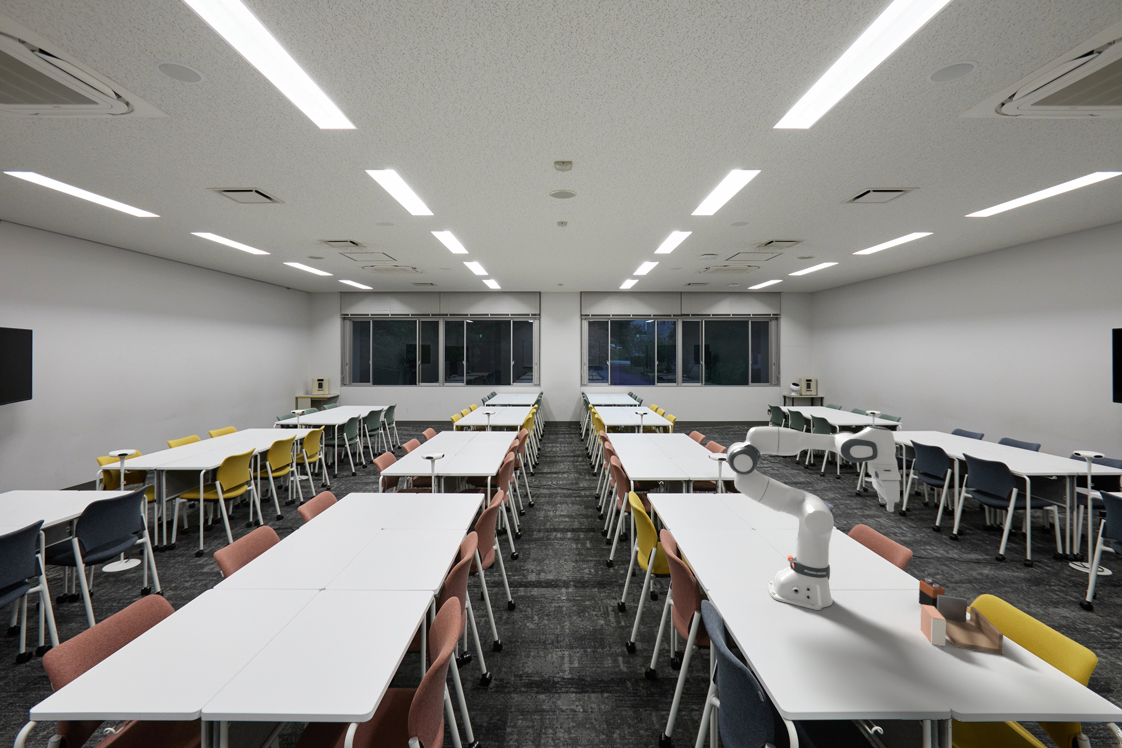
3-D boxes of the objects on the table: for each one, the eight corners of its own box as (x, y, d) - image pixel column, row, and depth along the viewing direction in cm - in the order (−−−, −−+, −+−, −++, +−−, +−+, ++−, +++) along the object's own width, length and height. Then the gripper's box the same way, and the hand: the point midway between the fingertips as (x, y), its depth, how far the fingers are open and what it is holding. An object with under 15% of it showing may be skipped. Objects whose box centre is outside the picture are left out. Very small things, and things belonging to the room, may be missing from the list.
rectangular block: (931, 644, 144) (932, 617, 143) (920, 629, 151) (921, 604, 151) (945, 646, 143) (946, 619, 142) (933, 631, 150) (933, 606, 150)
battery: (929, 602, 168) (930, 577, 167) (944, 613, 161) (945, 586, 160) (918, 602, 168) (918, 577, 167) (932, 613, 161) (933, 586, 161)
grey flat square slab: (938, 618, 155) (938, 596, 155) (936, 616, 156) (937, 594, 156) (966, 622, 153) (966, 600, 153) (964, 620, 154) (965, 598, 153)
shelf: (955, 646, 143) (956, 627, 142) (931, 618, 158) (932, 600, 157) (1002, 654, 139) (1003, 634, 138) (973, 625, 154) (974, 606, 154)
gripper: (865, 463, 173) (869, 498, 173) (880, 476, 154) (884, 515, 154) (884, 463, 170) (888, 498, 171) (902, 476, 152) (906, 516, 152)
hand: (886, 506), depth 162 cm, fingers open, 8 cm apart
